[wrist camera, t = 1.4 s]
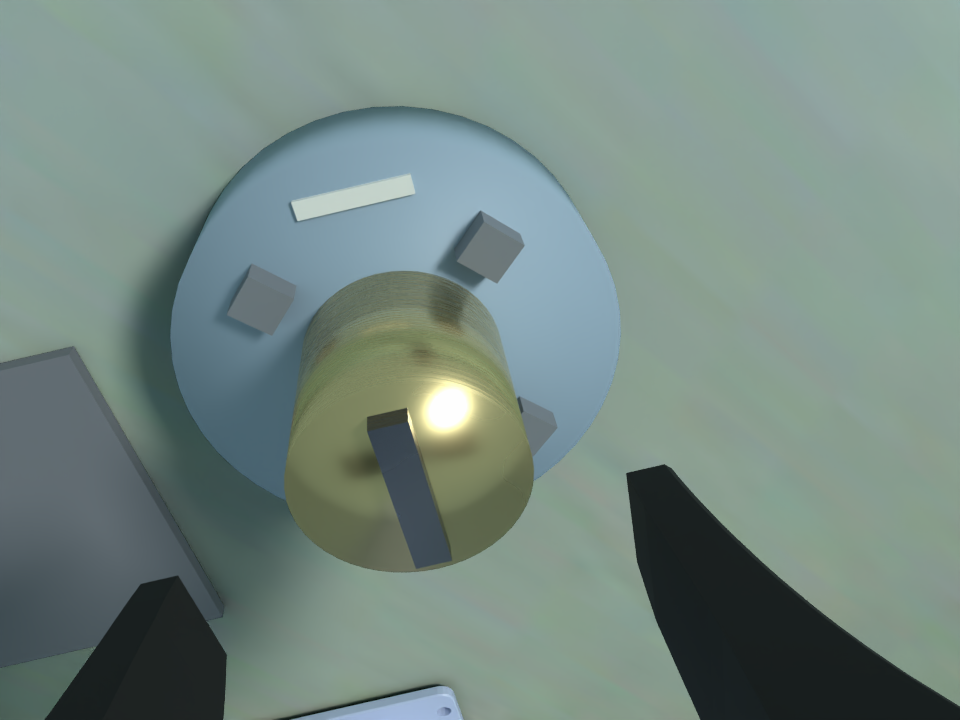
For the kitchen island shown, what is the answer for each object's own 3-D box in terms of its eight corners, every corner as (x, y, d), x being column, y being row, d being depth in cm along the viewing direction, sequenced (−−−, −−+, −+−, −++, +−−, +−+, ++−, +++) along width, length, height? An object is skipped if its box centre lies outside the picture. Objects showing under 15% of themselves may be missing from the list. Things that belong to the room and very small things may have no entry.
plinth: (613, 416, 23) (644, 489, 20) (274, 494, 23) (261, 577, 20) (567, 59, 17) (602, 95, 14) (119, 164, 17) (74, 219, 15)
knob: (517, 415, 19) (554, 558, 15) (335, 457, 19) (327, 609, 15) (481, 249, 16) (515, 369, 13) (273, 297, 17) (242, 431, 13)
